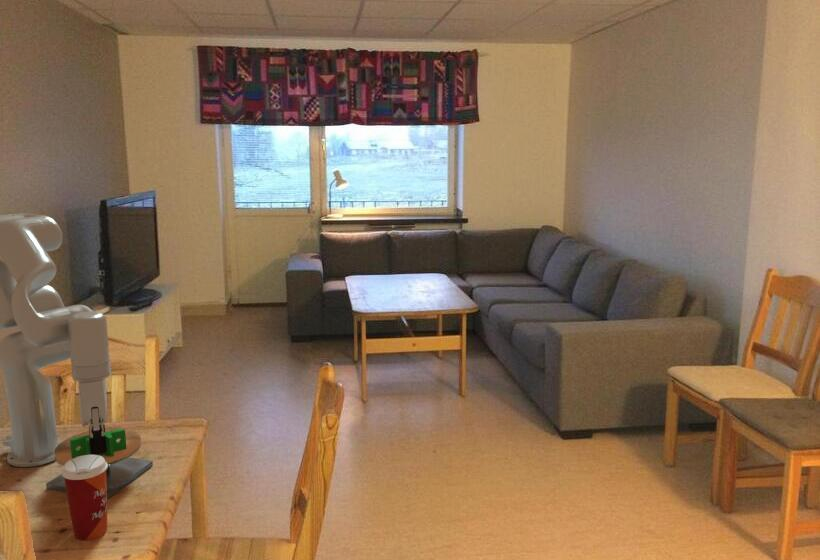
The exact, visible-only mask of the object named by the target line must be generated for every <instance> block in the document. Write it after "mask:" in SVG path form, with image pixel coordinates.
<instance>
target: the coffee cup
mask: <svg viewBox="0 0 820 560" xmlns="http://www.w3.org/2000/svg"><path fill="white" fill-rule="evenodd" d="M107 467H108V464H107V463H106V462H105V459H104V458H103V457H102V456H99V455H83V456H79V457H76V458H73V459H71V460H69V461H68V462H66V463H65V465H64V466H63V469H62V470H61V474H62V476H63V477H64V480H65V486H66V491H67V492H66V497H67V501H68V508H69V515H70V519H71V520H70V521H71V525H72V530H73V534H74V535H73V536H74V537H75V539H77V540H80V541H91V540H95V539H98V538H100V537H102V536H103V535H104V534H106V532H108V531H107V530H108V503H107V502H108V499H107V485H106V469H107Z"/></svg>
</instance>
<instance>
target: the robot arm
mask: <svg viewBox="0 0 820 560" xmlns="http://www.w3.org/2000/svg"><path fill="white" fill-rule="evenodd" d="M63 238H64V237H63V231H62V228H61V226H59V224H58V223H57V222H56V220H54V218H52V217H51V216H48V215H45V214H36V213H26V212H23V213H9V214H0V330H2V331H4V330H5V331H7V330H13V329H19V330H20V331H16V332H12V333H10V334H7V335H6V336H4V337H2V338H1V339H0V367H1V370H2V374H3V378H4V384H5V389H6V396H7V403H8V404H7V405H8V413H9V421H10V430H11V433H9V434H7V435H6V437H5V440H3V441H2V446H3V447H9V449H10V451H9V452H8V454H7V457H6V459H7V463H8V464H9V465H11V466H14V467H18V468H30V467H31V468H32V467H38V466H43V465H45V464H50V463H52V462H53V461H56V459H55V449H56V447H57V446H58V445H59V444H60V443H61V442H62V441H59V440H58V433H57V422H56V414H55V403H54V393H53V387H52V386H53V385H52V383H51V381H50V380H49V378H48V377H47V376H45V374H42V372H41V371H40V370H41V369H42V368H44V367H47V366H51V365H55V364H59V363H62V362H65V361H68V360H70V362H71V365H70V366H71V373H72V379H73V380H74V381H76V382H78V384H77V385H78V398H79V409H80V418H81V419H80V420H81V426H82V427H86V426H88V431H89V434H90V437H89V441H90V451H91V455H95V454H101V453H106V452H107V447H106V435H104V432H105V428H106V426H105V423H106V422H107V416H108V415H107V414H108V413H107V410H108V409H107V407H108V405H107V404H108V400H107V385H106V384H107V383H106V382H107V381H106V379H107V378H109V377H110V376H111V374H112V370H111V359H110V349H109V348H110V347H109V336H108V335H109V333H108V323H107V318H106V316H105V314H104V313H102V312H100V311H94V310H93V309H91V308H90V307H89V306H87V305H84V304H73V305H69V306H65V305H64V302H63V300H62V297H61V295H60V294H59V292H58V291H57V289H55V288H54V287H53V286H51V285H50V282H51V281H52V280H53V279H54V278H55V276H56V275H57V271H58V270H57V266H56V264H55V262H54V260H53V259H52V258H51V256H50V255H49V254H48V252H50V251H51V252H52V251H56V250H57V249H59V248H60V247H61V246H62V243H63ZM1 258H2V259H1Z"/></svg>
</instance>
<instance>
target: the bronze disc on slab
mask: <svg viewBox="0 0 820 560" xmlns="http://www.w3.org/2000/svg"><path fill="white" fill-rule="evenodd" d="M119 429H123V428H120V427H112V428H111V427H108V428H107V427H105V432H108V431H114V430H119ZM124 429H125V435H126V448H127V449H122V450H118V451H114V456H113V457H110V456H109V455H100V456H102V457H103V458H104V459H105V462H106V463H107V464H108V467H107V469H106V485H107V500H109V499H110V498H112V497H113V496H114V495H115V494H117V493H119V492H120V491H121V490H122V489H123V488H125V487H127V486H128V485H129V484H131V483H132V482H133V481H134V480H135V479H137V478H139V476H141V475H143V474H144V473H145V472H147V471H148V470H149V469H150V468H152V467H153V466H154V464H153V460H148V459H142V458H135V457H132V456H133V455H134V454H136V453H137V452H138V451H140V448H141V447H142V446H141V445H142V438H141V436H140V434H139V433H138V432H137V431H134V430H132V429H131V430H130V429H127V428H124ZM87 435H90V434H89V430H88V431H83V432H80V433H78V434H75V435H72V436H70V437H68V438H66V439H64V440H63V441H60V442H61V443H60V444H59V445H58V446H57V447H56V449H55V459H56V460H55V461H56V463H57V464H59V465H61V466H63V467H64V465H65V463H66V462H68V461H69V460H71V459H72V456H71V446H70V439H71V438H77V437H82V436H87ZM120 440H121V439H117V440H116V441H120ZM80 448H81V447H80V446H78V447H77V448H76V449H80ZM45 486H46V490H52V491H57V492H58V491H59V492H64V493H67V491H66V486H65V480H64V477H63V476H62V473H60V474H59V475H58V476H56V477H54V478H52V479H51V480H49V481H48V482H47V483H45Z"/></svg>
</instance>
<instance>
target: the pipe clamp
mask: <svg viewBox="0 0 820 560" xmlns="http://www.w3.org/2000/svg"><path fill="white" fill-rule="evenodd" d="M125 429H126V428H122V429H119V430H114V431H108V432H104V435H106V447H107V452H106V453H101V454H95V455H99V456H100V455H109V456H110V457H113V456H114V451H118V450H122V449H127V448H126V435H125ZM89 437H90V435H87V436H82V437H77V438H71V439H70V446H71V456H72V459H73V458H76V457H79V456H83V455H91V451H90V441H89ZM117 439H121V440H120V441H116V440H117ZM78 446H80V447H81V448H80V449H76V448H77V447H78Z"/></svg>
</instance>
